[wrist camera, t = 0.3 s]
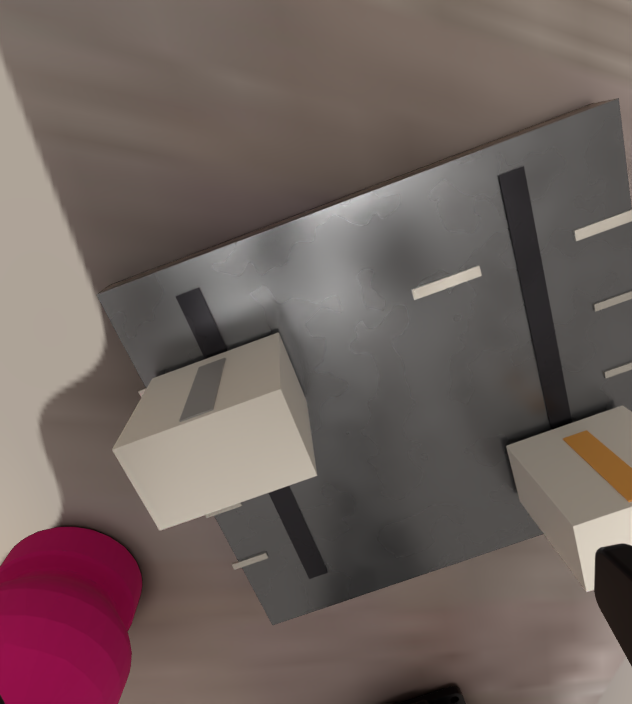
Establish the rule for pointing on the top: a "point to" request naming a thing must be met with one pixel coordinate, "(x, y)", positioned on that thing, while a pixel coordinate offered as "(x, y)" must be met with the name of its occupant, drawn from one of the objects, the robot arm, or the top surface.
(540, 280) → the mixer panel
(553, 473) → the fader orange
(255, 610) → the top surface
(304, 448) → the fader plain
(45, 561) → the pepper mill
